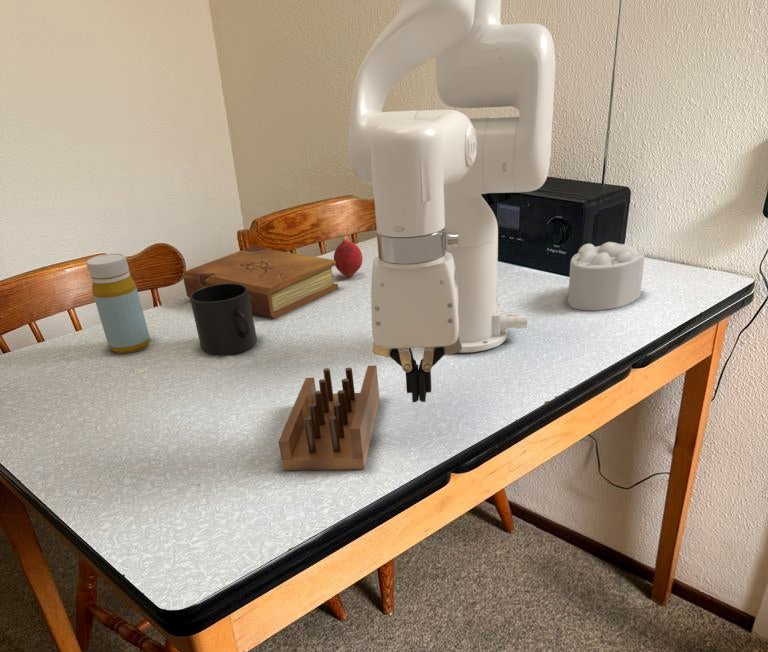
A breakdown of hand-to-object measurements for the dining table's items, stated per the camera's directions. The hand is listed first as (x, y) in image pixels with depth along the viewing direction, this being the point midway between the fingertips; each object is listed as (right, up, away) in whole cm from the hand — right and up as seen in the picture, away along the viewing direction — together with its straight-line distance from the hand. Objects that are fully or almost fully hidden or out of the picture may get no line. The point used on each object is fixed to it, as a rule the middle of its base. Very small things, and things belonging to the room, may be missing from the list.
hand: (419, 397), depth 94 cm
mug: (-30, +13, +33) cm, 46 cm away
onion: (-11, +33, +59) cm, 69 cm away
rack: (-11, -4, +5) cm, 12 cm away
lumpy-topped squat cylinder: (+33, +23, +38) cm, 56 cm away
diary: (-28, +28, +54) cm, 67 cm away
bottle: (-48, +14, +37) cm, 62 cm away
